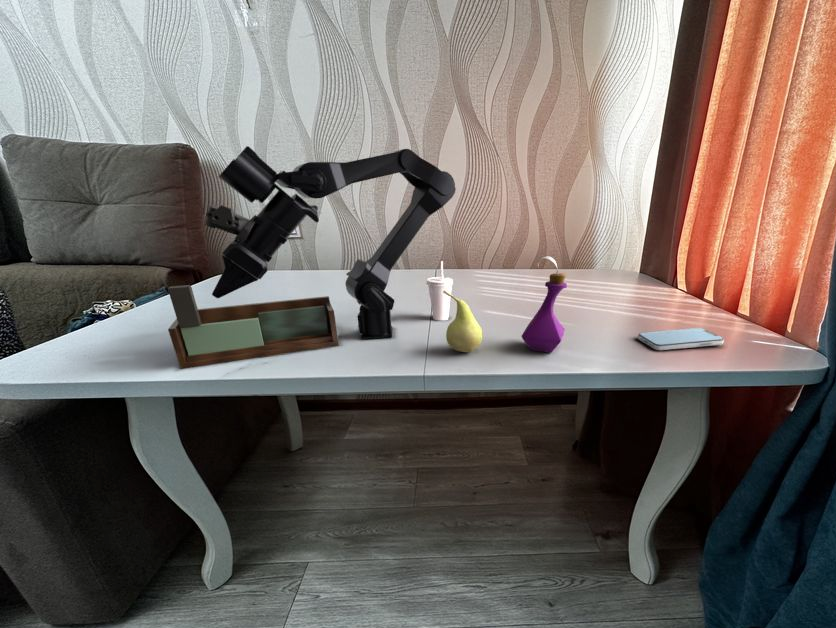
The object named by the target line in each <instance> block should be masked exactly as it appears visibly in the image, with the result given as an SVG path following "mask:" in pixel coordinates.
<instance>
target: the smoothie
mask: <svg viewBox="0 0 836 628" xmlns="http://www.w3.org/2000/svg"><path fill="white" fill-rule="evenodd" d="M439 265H440V276H435V277H429V278H427V279H426V283H425V284H426V285H427V287H428V294H429V299H430V306H431V312H432V319H433V320H434V321H447V320H449V314H450V305H451V297H450V296H448V295H446V294H444V293H443V291H444V290H446V291H447V292H448V293H449V294H451V295H452V288H453V287H452V286H453V285H454V279H453V278H452V277H448V276H446V277H445V276H444V260H440V264H439Z"/></svg>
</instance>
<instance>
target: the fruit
mask: <svg viewBox="0 0 836 628" xmlns="http://www.w3.org/2000/svg"><path fill="white" fill-rule="evenodd" d="M443 293H444V294H446V295H448V296H450V298H452V299H453V300H454V301H455V302H456V313H455V318H454V319H453V320H452V321H451V322H450V323H449V324H448V326H447V329H446V333H445V335H446V336H445V337H446V338H445V339H446V342H447V343H448V345H449V347H450V348H451V349H453V350H455V351H458V352H459V353H460V352H462V353H471V352H473V351H475V350H477V348H478V347H479V346H480V345H481V342H482V339H483V330H482V328H481V326H480V324H479V323H478V321H477V320H476V319H475V317H474V315H473V312H472V310H471V308H470V307H469V305H468V304H467V303H466V302H465V301H464V300H462V299H459V298H457V297H455V296H454V295H453V294H452V293H451V294H449V293H448V292H447V291H446V290H444V291H443Z"/></svg>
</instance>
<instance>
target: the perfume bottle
mask: <svg viewBox="0 0 836 628" xmlns="http://www.w3.org/2000/svg"><path fill="white" fill-rule="evenodd" d="M544 259H546V260H549V261H551V262H552V263H553V264H554V266H555V267H556V273H550V274H549V280H548V281H546V282H545V283H544V286H545V288H546V289H547V293H546V296H545V297H544V300H543V301H542V303H541V306H540V307H539V309H538V310H537V312H536V314H535V315H534V316H533V318H532V319H531V320H530V321H529V323H528V324H527V326H526V328H525V329H524V331H523V332H522V334H521V339H522V340H523V342H524V343H525V344H526V346H527V347H528V349H529V350H530V351H534V352H541V353H550V354H551V353H553V352H554V351H555V349H556V348H558V346H559V344H560V343H561V342H562V340H563V337H564V333H565V330H566V328H565V327H564V326H563V325H562V324H561V322H560V321H559V320H558V318H557V317H556V315H555V312H554V307H555V302H556V300H557V297H558V295H559V294H560V293H561V292H562V291H563V290H564V289H567V287H568V284H567V282H564V281H565V279H566V277H567V275H566V274H565V273H564V272H563V273H559V267H558V264H557V261H556V260H555V259H554V257H552V256H550V255H547V256H542V257H541V258H539V260H538V262H537V267H539V265H540V263H541V261H542V260H544Z"/></svg>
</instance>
